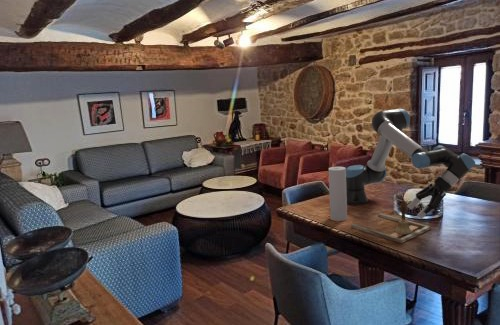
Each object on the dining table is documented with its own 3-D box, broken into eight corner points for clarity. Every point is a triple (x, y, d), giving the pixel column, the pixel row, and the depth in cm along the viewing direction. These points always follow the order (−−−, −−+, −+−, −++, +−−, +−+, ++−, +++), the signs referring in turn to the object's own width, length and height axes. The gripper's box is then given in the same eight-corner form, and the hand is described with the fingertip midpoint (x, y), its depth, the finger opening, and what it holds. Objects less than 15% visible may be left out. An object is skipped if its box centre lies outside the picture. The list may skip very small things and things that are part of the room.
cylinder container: (347, 220, 206) (346, 169, 200) (330, 221, 208) (328, 169, 202) (346, 215, 215) (345, 165, 209) (330, 215, 217) (328, 166, 211)
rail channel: (379, 215, 210) (379, 213, 210) (430, 229, 185) (430, 226, 185) (351, 226, 197) (351, 224, 196) (401, 243, 172) (401, 240, 172)
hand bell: (391, 230, 187) (390, 200, 184) (403, 227, 190) (403, 197, 187) (403, 235, 179) (403, 204, 176) (416, 232, 182) (416, 201, 179)
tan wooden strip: (411, 225, 192) (411, 224, 192) (419, 227, 188) (419, 226, 188) (387, 236, 180) (387, 236, 180) (394, 239, 177) (394, 238, 177)
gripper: (464, 193, 165) (429, 226, 169) (440, 180, 190) (410, 209, 194) (452, 182, 165) (417, 216, 169) (429, 170, 189) (400, 200, 193)
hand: (413, 212), depth 181 cm, fingers open, 13 cm apart
